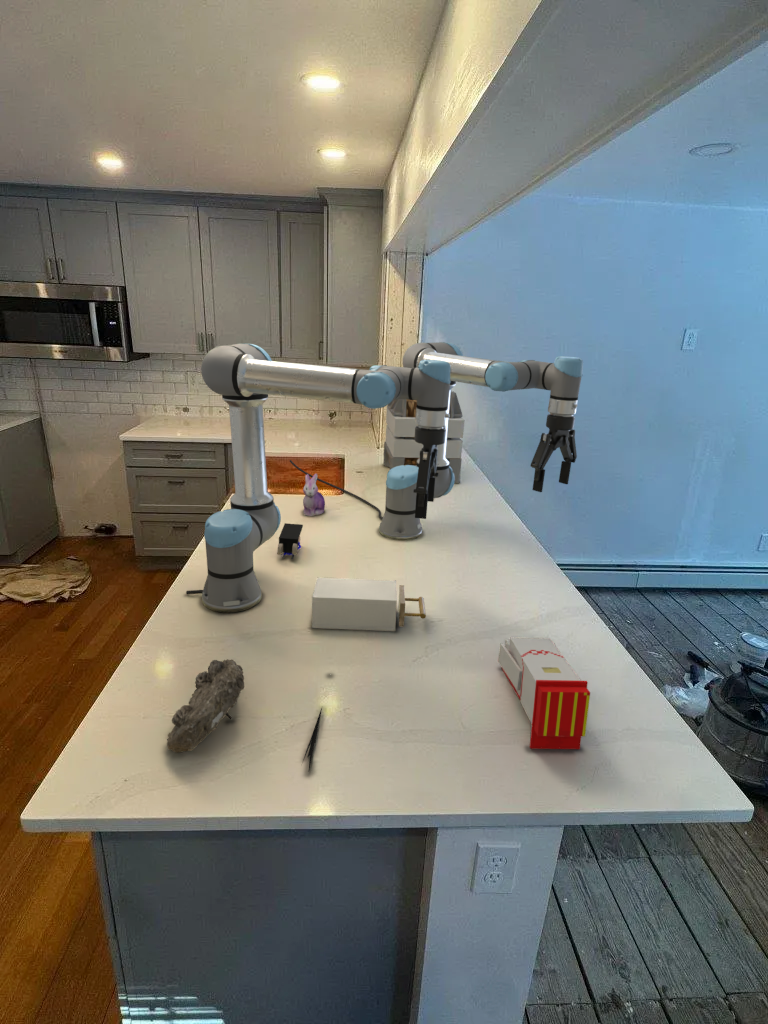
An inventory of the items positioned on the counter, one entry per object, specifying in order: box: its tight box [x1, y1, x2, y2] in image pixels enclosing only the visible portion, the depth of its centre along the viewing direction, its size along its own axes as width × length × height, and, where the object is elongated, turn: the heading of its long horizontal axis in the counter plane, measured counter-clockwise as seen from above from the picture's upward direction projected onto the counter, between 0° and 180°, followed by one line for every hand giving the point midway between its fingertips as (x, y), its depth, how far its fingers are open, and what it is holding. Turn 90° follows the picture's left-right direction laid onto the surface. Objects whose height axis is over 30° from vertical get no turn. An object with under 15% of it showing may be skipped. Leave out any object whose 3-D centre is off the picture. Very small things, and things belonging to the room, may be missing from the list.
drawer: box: [397, 584, 427, 628], centre depth 143 cm, size 24×10×6 cm, turn 90°
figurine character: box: [276, 522, 304, 560], centre depth 180 cm, size 7×8×15 cm
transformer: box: [383, 390, 465, 484], centre depth 268 cm, size 34×33×41 cm
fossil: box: [166, 658, 245, 754], centre depth 106 cm, size 22×10×15 cm
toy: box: [497, 636, 591, 750], centre depth 115 cm, size 12×13×30 cm
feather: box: [301, 673, 332, 771], centre depth 108 cm, size 2×28×2 cm
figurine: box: [302, 473, 326, 517], centre depth 214 cm, size 9×10×15 cm
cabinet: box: [311, 576, 398, 632], centre depth 143 cm, size 20×11×8 cm, turn 90°
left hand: (424, 509), depth 144 cm, fingers open, 13 cm apart
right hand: (550, 487), depth 165 cm, fingers open, 13 cm apart
